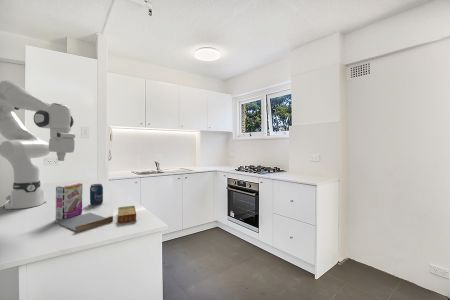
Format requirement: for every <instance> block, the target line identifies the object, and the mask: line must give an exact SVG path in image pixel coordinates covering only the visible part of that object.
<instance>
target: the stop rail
mask: <svg viewBox="0 0 450 300" xmlns="http://www.w3.org/2000/svg"><path fill="white" fill-rule="evenodd" d="M113 221H114V216H113V215H110V216H107V217H106V216H105V218H102V219H99V220H96V221H92V222H89V223H85V224H82V225H78V226H75V231H74V232H75V233H80V232H83V231H86V230H89V229H92V228H96V227H100V226H102V224H103V225H105V223H106V224H108V223H112V222H113Z"/></svg>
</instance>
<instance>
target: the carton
mask: <svg viewBox="0 0 450 300" xmlns="http://www.w3.org/2000/svg"><path fill="white" fill-rule="evenodd" d="M134 222H137V212H136V207H135V205H128V206H119V207H117V225H120V224H126V223H127V224H128V223H134Z"/></svg>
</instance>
